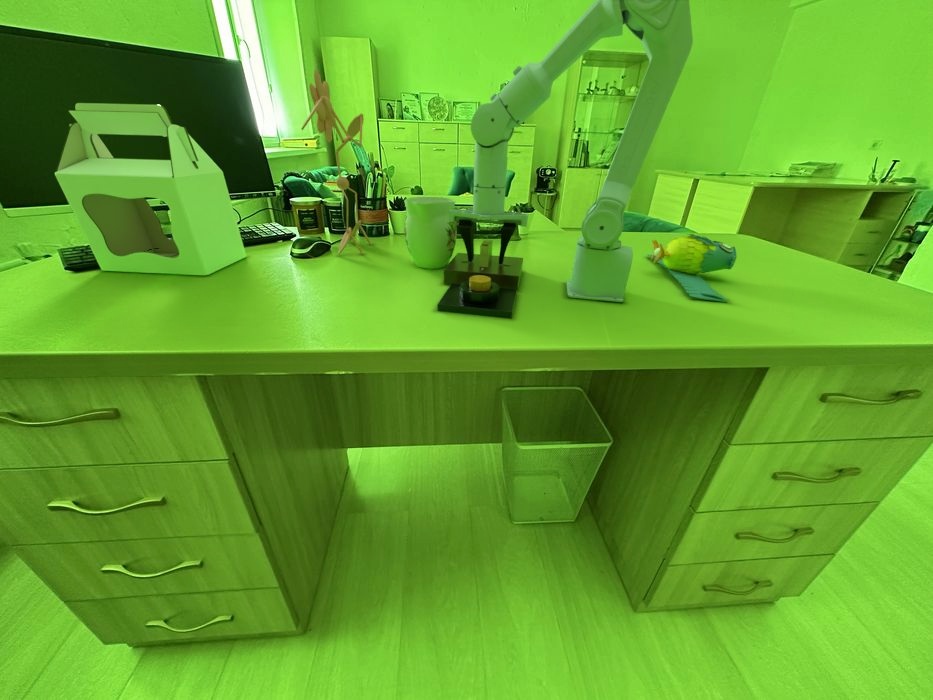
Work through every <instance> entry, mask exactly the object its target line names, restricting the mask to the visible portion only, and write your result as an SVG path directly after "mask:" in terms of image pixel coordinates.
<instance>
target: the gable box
mask: <svg viewBox="0 0 933 700" xmlns="http://www.w3.org/2000/svg"><path fill="white" fill-rule="evenodd" d="M74 108H75V109H69V110H68V112H69V114H70V115H71V116H72V118H74V120H75V121H76V122H73V123H69V127H68V130H67V134H66V137H65V140H64V144H63V146H62V150H61V153H60V155H59V160H58V163H57V166H56V169H55V171H54V176H55V179H56V181H57V182H58V184H59V186H60V188H61V190H62V192H63V194H64V196H65V198H66V201H67V203H68V205H69V207H70V208H71V211H72V212H73V214H74V217H75V219H76V221H77V224H78V225H79V226H80V229H81V231H82V234H83V235H84V237H85V239H86V241H87V244H88V245H89V248H90V250H91V251H92V254H93V257H94V258H95V260H96V262H97V264H98V266H99V268H100V270H101V271H104V272H117V273H118V272H119V273H121V272H122V273H141V274H159V275H160V274H161V275H162V274H163V275H184V276H205V277H206V276H209V275H212V274H214V273H216V272H218V271H221V270H222V269H224V268H226V267H229V266H230V265H233V264H234V263H237V262H239V261H241V260H243V259H245V258H247V253H246V250H245V245H244V242H243V239H242V235H241V232H240V229H239V224H238V221H237V218H236V214H235V211H234V207H233V203H232V199H231V197H230V196H231V195H230V193H229V189H228V186H227V182H226V178H225V175H224V171H223V170H222V169H221V168H220V167H219V166H218V165H217V163H216V162H214V160H213V159H212V158H211V157H210V156H209V155H208V154H207V153H206V151H205V150H204V149H203V148H202V147H201V146H200V145H199V144H198V143H197V142H196V140H195V139H194V138H193V137H192V136H191V134H189V131H188V130H187V127H186V126H180V125H178V124H174V123H173V121H172V119H171V116H170V115H169V112H168V110H167V109H166V108H165V106H163V105H161V104H146V103H145V104H144V103H143V104H140V103H139V104H138V103H95V102H93V103H92V102H77V103H75V106H74ZM99 135H120V136H121V135H122V136H123V135H124V136H158V137H159V136H161V137H164V138H166V137H167V144H168V151H169V159H161V158H160V159H158V158H157V159H155V158H128V157H127V158H126V157H125V158H123V157H114V156H113V155H112V153H111V152H110V151H109V149H108V148H107V146H106V145H105V143H104V142H103V140H102V139H101V138H100V136H99ZM146 198H152V199H157V200H160V201H162V202H163V203H165V204H166V205H167V206H168V208H169V213H170V230H171V231H170V232H171V236H172V238H169V237H168V236H167V235H166V234H165V233H164V231H163V228H162V223H161V220H160V218H159V217H158V214H157V213H156V212H155V209H153V208H152V206H151V205H150V203H149V202H148V201H147V199H146ZM152 248H159V249H152ZM149 249H152V250H149ZM147 250H149V251H147ZM144 251H145V252H144Z"/></svg>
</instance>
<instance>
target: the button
mask: <svg viewBox="0 0 933 700" xmlns="http://www.w3.org/2000/svg"><path fill="white" fill-rule="evenodd" d="M469 289H471V290H475V291H487V290H490V289H491V278H490V277H488V276H484V275H475V276H471V277H470V278H469Z"/></svg>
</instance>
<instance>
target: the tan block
mask: <svg viewBox="0 0 933 700" xmlns="http://www.w3.org/2000/svg"><path fill="white" fill-rule="evenodd" d="M493 244H494V239H489V238H484V240H483V241H482V243H481V244H480V248H479V254H480V267H488V266H489V264H490V262H491V260H492V255H493V246H494V245H493Z"/></svg>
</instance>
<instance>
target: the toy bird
mask: <svg viewBox="0 0 933 700" xmlns="http://www.w3.org/2000/svg"><path fill="white" fill-rule="evenodd" d="M652 245H653V250H654V251H653V254H649V253H648V254H646V256H648V257H649V258H650V261H652V260H653V262H652V263H653V264H655V263H658V264H659V265H661V266H662V267H664V268H665V269H667V271H668V272H669V273H670V274H671V275H672V277H673V278H674V279H676V281H678V283H679V284H681V286H682V287H683V289H684V290H685V292H686V294H688V295H689V296H690V297H691V298H695V299H699V300H706V301H708V302H722V303H728V299H726V298H725V296H723V295H722V294H720V293H719V292H717V291H716V290H715V289H714V288H713V287H712V286H710V284H709V283H708V282H707V281H705V279H703V278H702V277H701V276H700V274H706V273H711V272H716V271H722V270H732V268H733V267H734V265H735V263H736V261H737V258H738V255H737V249H736V247H735V246H730V245H729V244H726V243H724V242H722V241H717V240H712V239H709V238H708V237H706V236H704V235H698V234H697V235H695V234H692V233H687V236H682V237H676V238H673V239H672V240H671V241H670V242H669V243H667V244H666V246H665V248H664V247H663V245H662V244H661V243H659V242H658V241H657V240H656V239H654V240H652Z"/></svg>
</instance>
